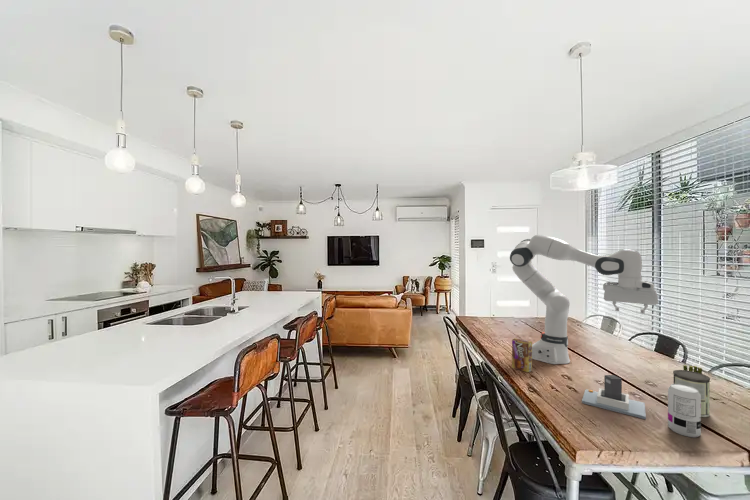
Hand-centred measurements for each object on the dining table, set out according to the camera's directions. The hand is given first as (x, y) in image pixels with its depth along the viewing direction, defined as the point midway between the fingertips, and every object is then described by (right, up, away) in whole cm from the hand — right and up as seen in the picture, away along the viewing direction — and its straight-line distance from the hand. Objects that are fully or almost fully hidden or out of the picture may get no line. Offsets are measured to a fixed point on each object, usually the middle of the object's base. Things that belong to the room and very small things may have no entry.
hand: (629, 312), depth 153 cm
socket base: (-25, -33, -23) cm, 47 cm away
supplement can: (-15, -33, -42) cm, 56 cm away
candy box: (-45, -33, +15) cm, 57 cm away
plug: (-25, -32, -22) cm, 46 cm away
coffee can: (+2, -33, -27) cm, 43 cm away
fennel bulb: (+18, -33, -12) cm, 40 cm away
